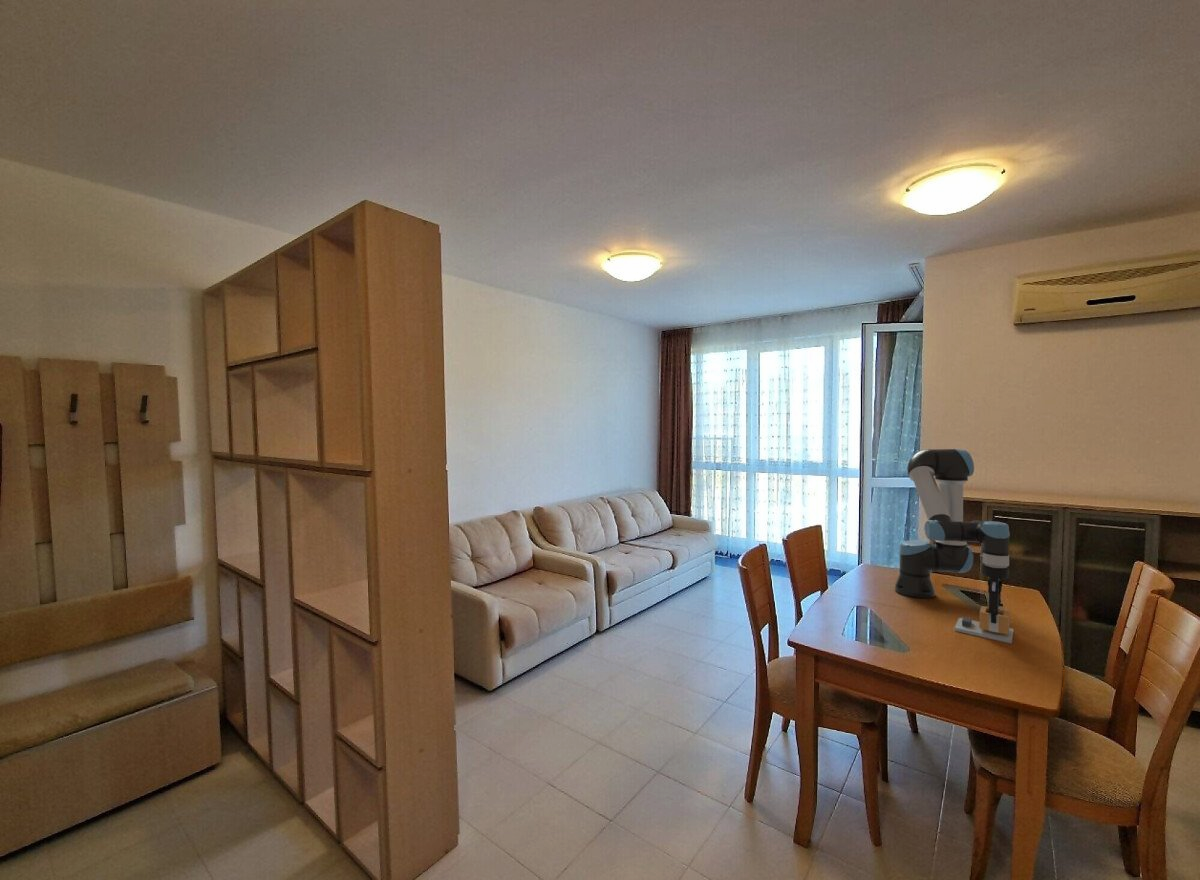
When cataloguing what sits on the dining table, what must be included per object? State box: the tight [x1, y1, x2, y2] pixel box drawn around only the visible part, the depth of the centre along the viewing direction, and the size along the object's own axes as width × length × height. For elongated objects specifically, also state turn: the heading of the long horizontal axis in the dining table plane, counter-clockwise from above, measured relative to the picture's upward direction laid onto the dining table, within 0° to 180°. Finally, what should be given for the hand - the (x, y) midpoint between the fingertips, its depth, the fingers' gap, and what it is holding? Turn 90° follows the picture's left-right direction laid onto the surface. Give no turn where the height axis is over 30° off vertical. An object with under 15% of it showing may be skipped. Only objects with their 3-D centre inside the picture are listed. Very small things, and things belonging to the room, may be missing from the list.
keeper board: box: [954, 616, 1014, 645], centre depth 178 cm, size 12×16×8 cm
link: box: [978, 605, 1011, 635], centre depth 176 cm, size 8×8×6 cm
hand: (994, 627), depth 176 cm, fingers closed on link, 8 cm apart
